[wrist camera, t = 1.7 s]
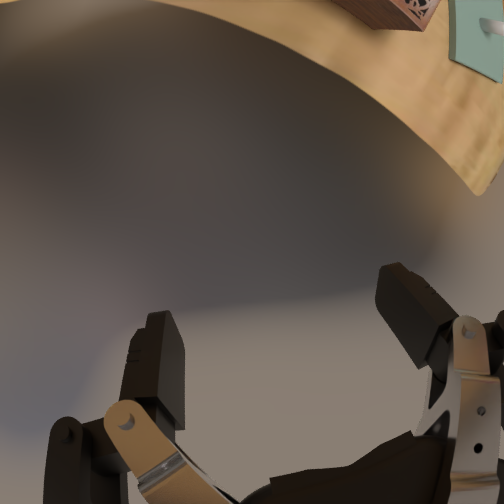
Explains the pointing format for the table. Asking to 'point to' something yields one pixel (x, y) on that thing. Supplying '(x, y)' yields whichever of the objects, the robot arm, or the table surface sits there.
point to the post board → (477, 36)
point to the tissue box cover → (392, 13)
